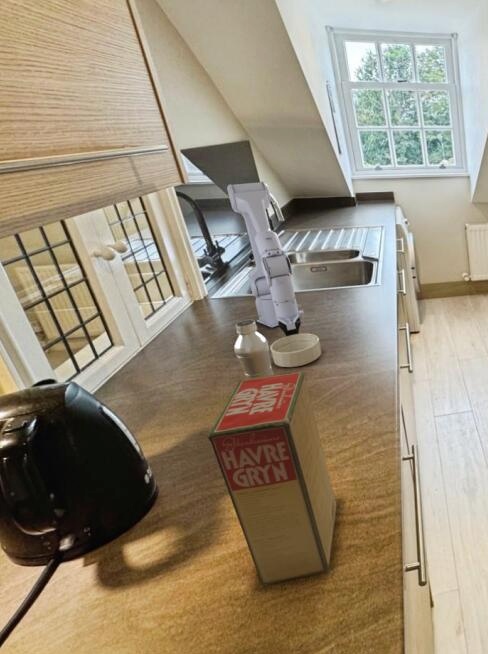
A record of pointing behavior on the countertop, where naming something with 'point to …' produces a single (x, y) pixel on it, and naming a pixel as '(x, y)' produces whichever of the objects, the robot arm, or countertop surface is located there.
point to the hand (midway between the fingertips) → (294, 344)
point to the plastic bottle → (252, 350)
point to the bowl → (295, 350)
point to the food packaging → (277, 476)
